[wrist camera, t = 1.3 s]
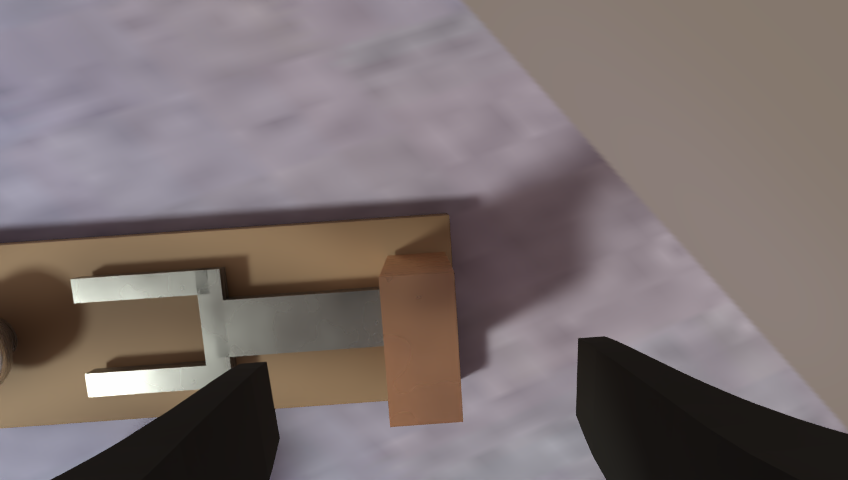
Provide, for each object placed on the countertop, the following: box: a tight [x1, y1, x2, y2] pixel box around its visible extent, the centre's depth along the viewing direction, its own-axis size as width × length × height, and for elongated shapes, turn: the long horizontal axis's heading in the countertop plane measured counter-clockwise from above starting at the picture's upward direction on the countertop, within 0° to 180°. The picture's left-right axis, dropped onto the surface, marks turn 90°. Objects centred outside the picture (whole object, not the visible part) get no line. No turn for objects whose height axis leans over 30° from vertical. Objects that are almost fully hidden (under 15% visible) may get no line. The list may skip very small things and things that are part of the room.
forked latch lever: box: [70, 252, 463, 427], centre depth 17 cm, size 5×16×5 cm, turn 94°
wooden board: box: [0, 213, 452, 428], centre depth 21 cm, size 8×22×2 cm, turn 94°
